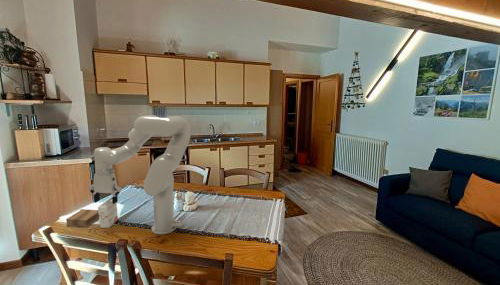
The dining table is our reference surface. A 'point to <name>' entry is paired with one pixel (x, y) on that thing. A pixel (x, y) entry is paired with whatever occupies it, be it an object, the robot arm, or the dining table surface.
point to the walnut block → (83, 218)
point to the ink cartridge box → (107, 214)
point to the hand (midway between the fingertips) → (106, 202)
